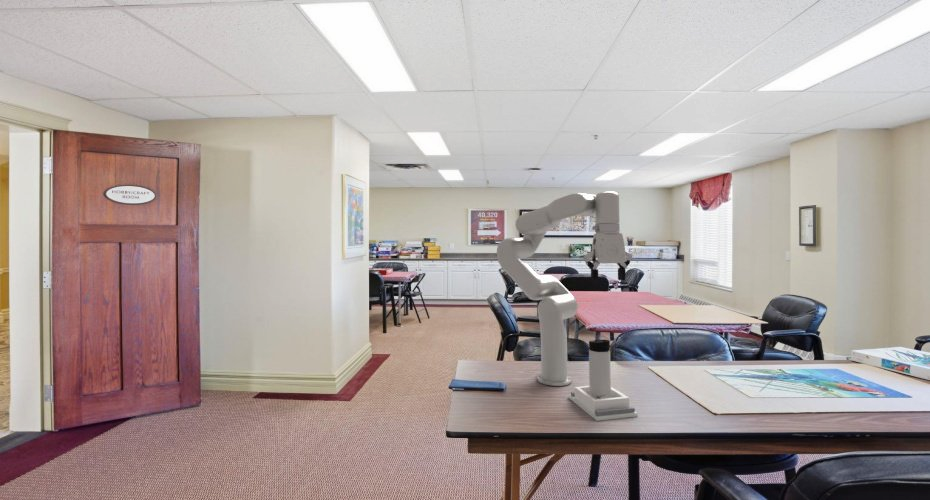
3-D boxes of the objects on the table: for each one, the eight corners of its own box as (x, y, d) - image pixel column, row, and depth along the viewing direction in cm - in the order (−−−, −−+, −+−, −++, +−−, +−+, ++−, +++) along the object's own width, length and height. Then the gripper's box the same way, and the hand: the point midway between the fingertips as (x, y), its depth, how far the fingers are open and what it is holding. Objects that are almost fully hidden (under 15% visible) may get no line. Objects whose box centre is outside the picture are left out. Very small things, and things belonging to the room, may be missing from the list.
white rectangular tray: (568, 397, 133) (568, 384, 133) (604, 394, 135) (604, 381, 135) (596, 420, 115) (596, 405, 115) (637, 416, 118) (637, 400, 117)
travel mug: (601, 408, 121) (600, 342, 121) (585, 401, 127) (584, 338, 127) (616, 404, 124) (615, 339, 124) (600, 397, 130) (598, 335, 129)
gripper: (589, 229, 129) (590, 282, 129) (637, 228, 132) (638, 280, 132) (578, 230, 136) (579, 280, 136) (624, 229, 139) (625, 279, 140)
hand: (608, 280), depth 134 cm, fingers open, 9 cm apart
